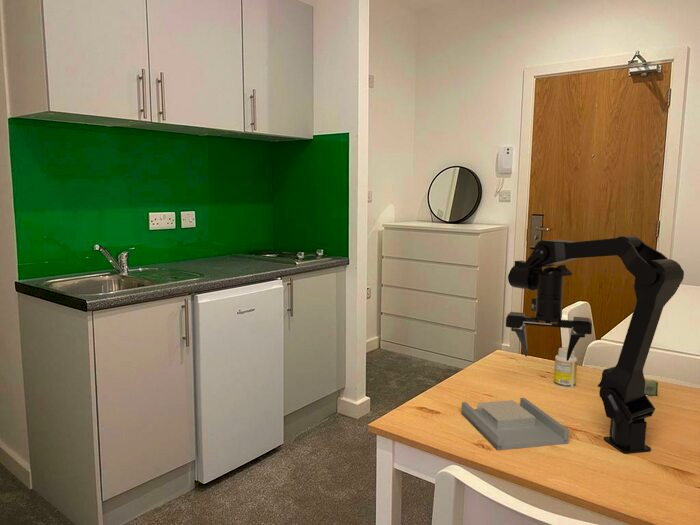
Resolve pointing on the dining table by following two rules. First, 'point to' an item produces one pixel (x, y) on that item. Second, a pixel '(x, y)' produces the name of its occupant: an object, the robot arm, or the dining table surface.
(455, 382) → the dining table surface
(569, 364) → the supplement bottle
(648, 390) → the medication box
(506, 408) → the cover plate
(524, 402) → the slide box
